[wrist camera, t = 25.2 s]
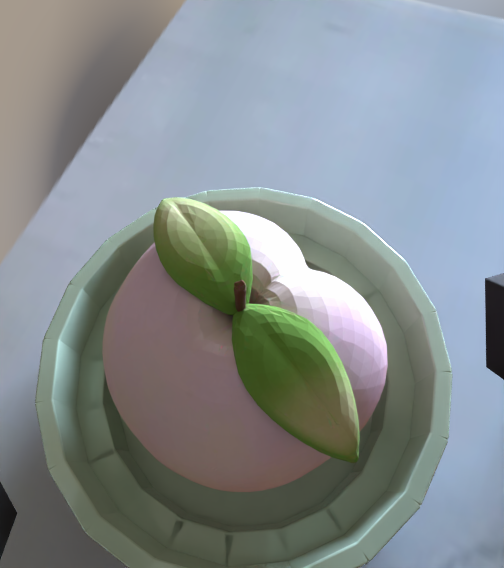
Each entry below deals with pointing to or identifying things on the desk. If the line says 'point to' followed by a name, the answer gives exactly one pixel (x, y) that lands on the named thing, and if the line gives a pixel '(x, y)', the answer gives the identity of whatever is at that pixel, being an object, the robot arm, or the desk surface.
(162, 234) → the decorative fruit
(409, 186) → the desk surface
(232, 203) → the bowl
